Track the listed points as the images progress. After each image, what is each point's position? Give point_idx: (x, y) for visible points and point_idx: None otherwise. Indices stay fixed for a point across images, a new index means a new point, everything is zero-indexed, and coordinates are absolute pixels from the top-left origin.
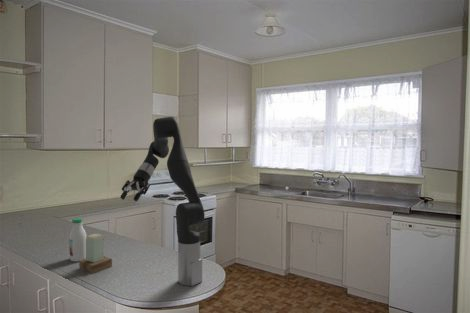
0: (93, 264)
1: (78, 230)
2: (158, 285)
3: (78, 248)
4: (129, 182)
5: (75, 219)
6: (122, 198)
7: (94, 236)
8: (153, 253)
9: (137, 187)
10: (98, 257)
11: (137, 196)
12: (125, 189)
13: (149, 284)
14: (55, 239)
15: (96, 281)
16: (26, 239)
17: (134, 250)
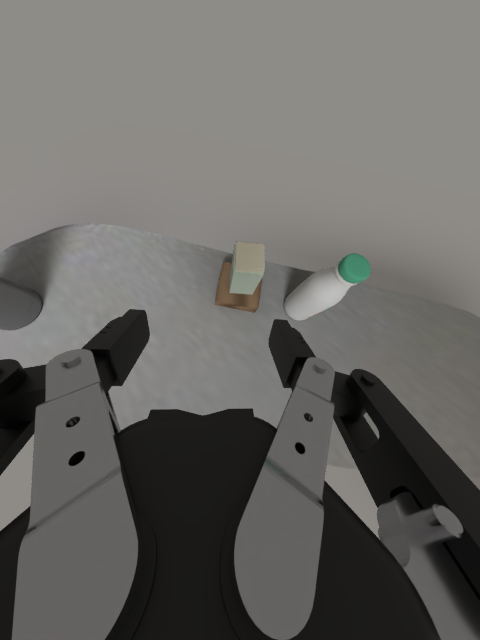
0: (225, 266)
1: (323, 273)
2: (75, 273)
3: (297, 287)
4: (467, 594)
5: (356, 258)
6: (272, 331)
7: (245, 249)
8: (182, 403)
9: (85, 400)
10: (230, 277)
11: (104, 329)
12: (314, 373)
13: (95, 270)
14: (430, 366)
15: (192, 250)
16: (464, 339)
17: (237, 396)
